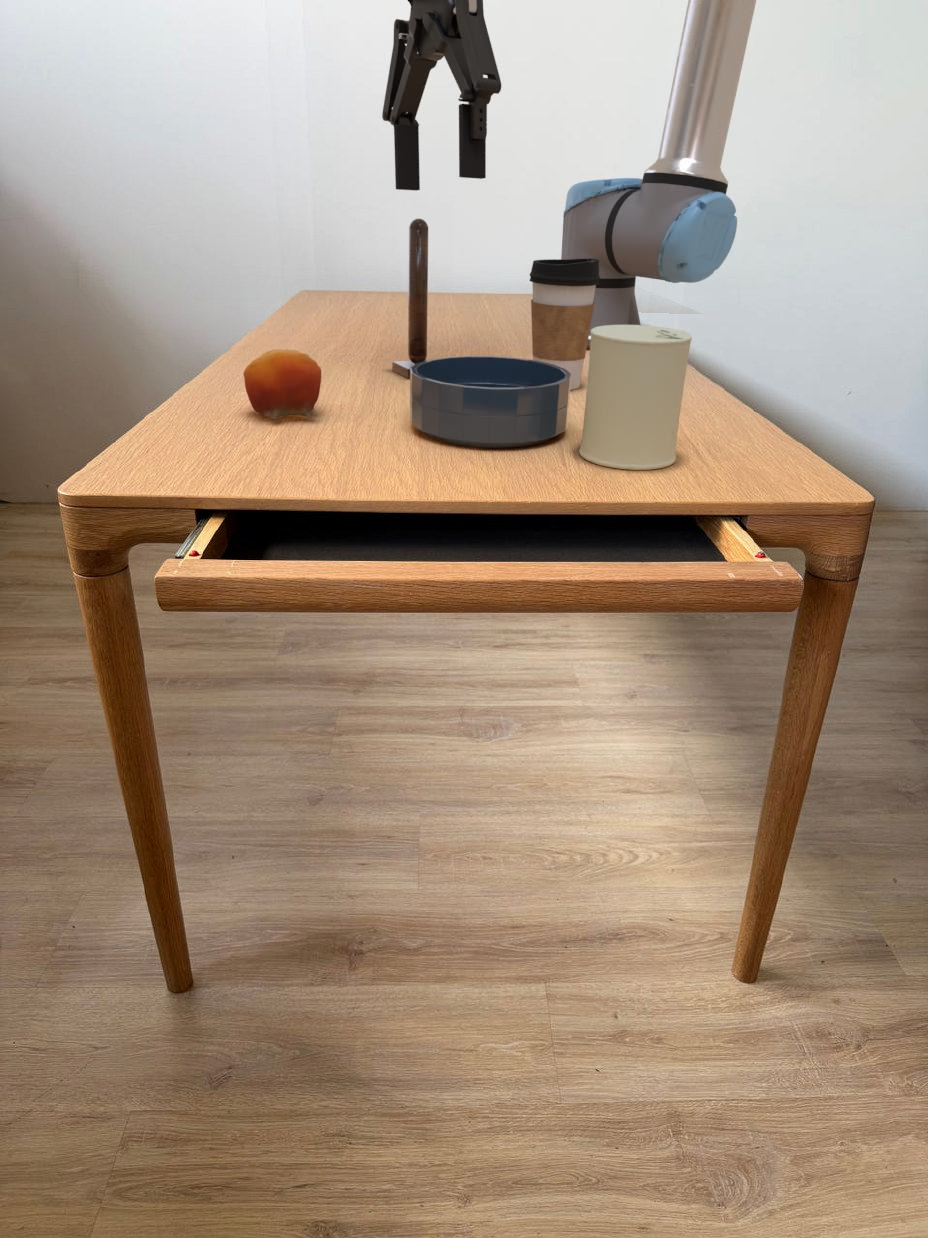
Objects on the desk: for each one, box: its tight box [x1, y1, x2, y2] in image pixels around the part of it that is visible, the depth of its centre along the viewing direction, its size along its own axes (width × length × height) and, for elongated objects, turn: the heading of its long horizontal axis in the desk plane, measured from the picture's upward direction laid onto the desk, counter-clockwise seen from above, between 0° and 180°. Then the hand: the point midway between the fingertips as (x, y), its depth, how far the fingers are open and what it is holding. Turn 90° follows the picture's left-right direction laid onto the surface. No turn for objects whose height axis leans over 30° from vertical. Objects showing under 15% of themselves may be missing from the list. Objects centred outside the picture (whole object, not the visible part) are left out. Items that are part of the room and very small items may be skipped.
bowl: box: [409, 355, 571, 449], centre depth 95 cm, size 16×16×6 cm
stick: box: [391, 218, 429, 379], centre depth 116 cm, size 5×5×19 cm
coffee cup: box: [529, 258, 600, 391], centre depth 113 cm, size 8×8×15 cm
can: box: [578, 324, 693, 471], centre depth 86 cm, size 9×9×12 cm
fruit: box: [243, 348, 322, 422], centre depth 97 cm, size 8×8×8 cm
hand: (438, 184), depth 99 cm, fingers open, 13 cm apart
